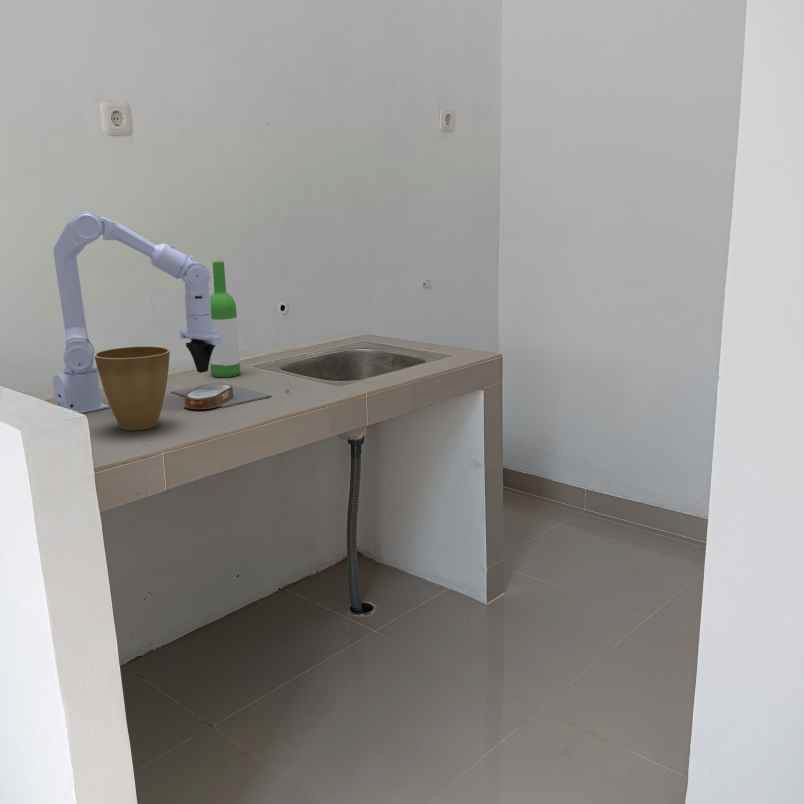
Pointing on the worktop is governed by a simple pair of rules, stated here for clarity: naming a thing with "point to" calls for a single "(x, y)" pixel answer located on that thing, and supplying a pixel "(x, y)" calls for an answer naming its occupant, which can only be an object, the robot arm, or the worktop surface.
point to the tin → (208, 396)
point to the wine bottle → (224, 327)
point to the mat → (238, 392)
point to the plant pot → (134, 384)
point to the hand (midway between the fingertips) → (202, 371)
